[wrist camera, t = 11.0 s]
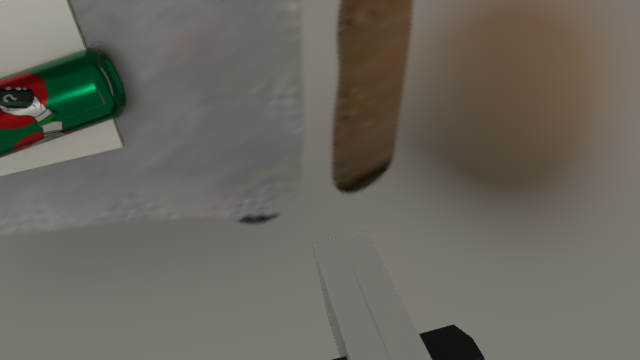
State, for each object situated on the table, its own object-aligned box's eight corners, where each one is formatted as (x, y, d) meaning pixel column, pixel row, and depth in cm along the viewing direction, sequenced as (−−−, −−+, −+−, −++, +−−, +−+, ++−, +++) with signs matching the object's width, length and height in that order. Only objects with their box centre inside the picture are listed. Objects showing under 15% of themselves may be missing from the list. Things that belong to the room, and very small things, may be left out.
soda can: (94, 31, 38) (-72, 87, 37) (94, 71, 34) (-90, 134, 34) (128, 87, 42) (-24, 139, 41) (130, 128, 38) (-35, 185, 38)
